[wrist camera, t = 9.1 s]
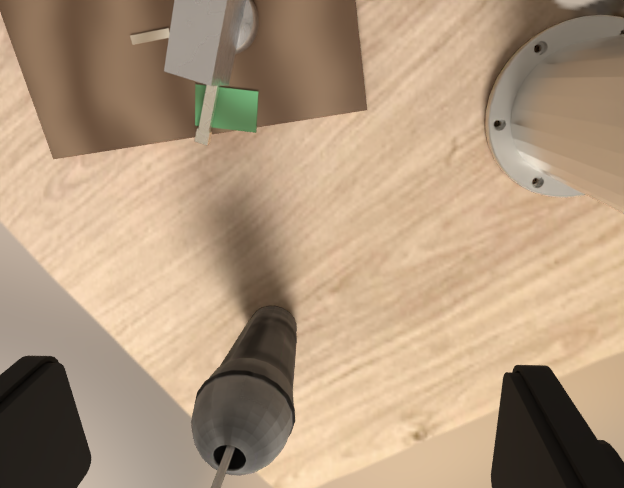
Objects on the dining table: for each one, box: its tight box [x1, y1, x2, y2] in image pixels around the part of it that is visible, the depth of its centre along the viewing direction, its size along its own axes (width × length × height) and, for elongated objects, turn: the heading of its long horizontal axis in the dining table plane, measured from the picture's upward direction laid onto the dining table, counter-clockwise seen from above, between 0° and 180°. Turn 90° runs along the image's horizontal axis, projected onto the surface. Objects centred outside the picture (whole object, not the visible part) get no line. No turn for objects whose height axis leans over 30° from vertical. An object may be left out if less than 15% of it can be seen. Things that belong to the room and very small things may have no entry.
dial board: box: [0, 0, 367, 159], centre depth 32 cm, size 26×15×2 cm, turn 99°
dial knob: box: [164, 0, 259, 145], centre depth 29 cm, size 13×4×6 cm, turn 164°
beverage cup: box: [191, 306, 297, 488], centre depth 32 cm, size 7×7×20 cm
